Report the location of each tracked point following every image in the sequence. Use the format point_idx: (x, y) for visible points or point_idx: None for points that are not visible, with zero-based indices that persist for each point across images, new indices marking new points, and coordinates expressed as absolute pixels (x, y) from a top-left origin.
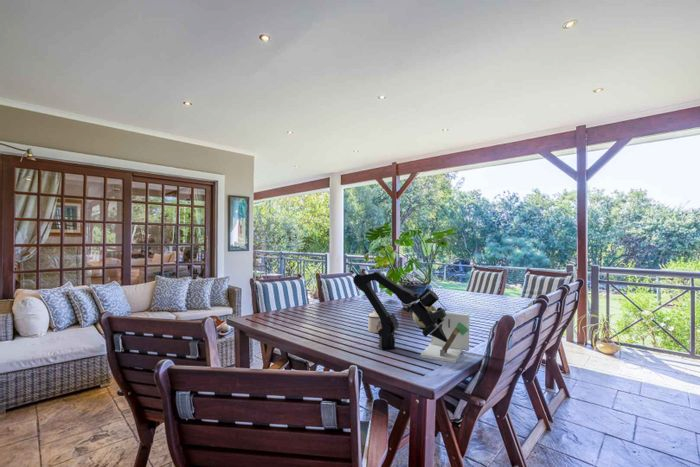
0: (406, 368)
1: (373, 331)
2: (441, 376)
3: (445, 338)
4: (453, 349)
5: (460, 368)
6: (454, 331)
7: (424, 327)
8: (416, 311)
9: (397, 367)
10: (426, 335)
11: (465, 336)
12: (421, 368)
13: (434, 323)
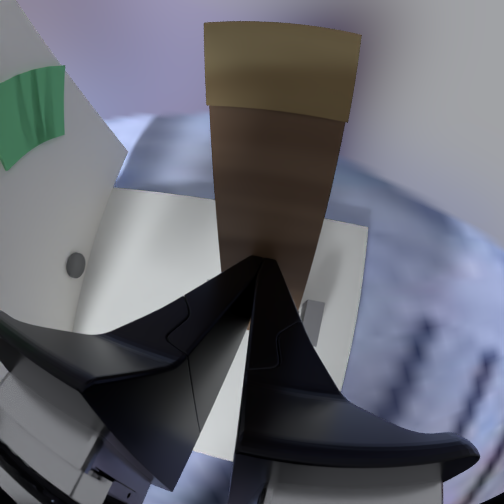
0: (484, 465)
1: None
2: None
3: (284, 279)
4: (124, 238)
5: (429, 210)
6: (350, 74)
7: None
8: None
9: (473, 496)
10: (500, 500)
11: (75, 119)
12: (483, 411)
13: None
